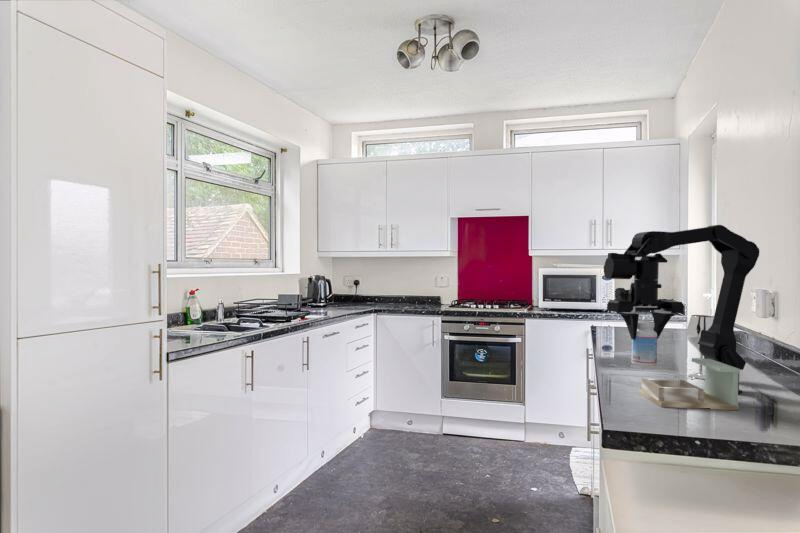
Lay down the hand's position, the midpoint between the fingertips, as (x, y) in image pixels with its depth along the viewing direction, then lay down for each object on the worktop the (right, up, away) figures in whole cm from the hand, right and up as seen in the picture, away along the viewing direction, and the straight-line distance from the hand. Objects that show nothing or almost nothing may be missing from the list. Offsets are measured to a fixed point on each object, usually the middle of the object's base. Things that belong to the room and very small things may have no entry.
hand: (644, 339), depth 139 cm
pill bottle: (0, -7, 0) cm, 7 cm away
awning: (+11, -13, -12) cm, 21 cm away
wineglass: (+24, -14, +17) cm, 33 cm away
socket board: (+5, -13, -12) cm, 18 cm away
